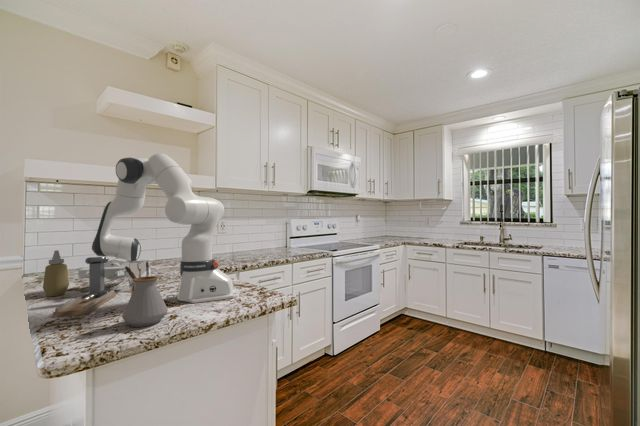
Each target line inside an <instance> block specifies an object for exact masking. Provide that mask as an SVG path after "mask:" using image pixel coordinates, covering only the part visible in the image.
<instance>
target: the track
mask: <svg viewBox="0 0 640 426" xmlns="http://www.w3.org/2000/svg"><path fill="white" fill-rule="evenodd" d="M88 293H89V292H86V293H84V294H82V295H79V296H78V297H76V298H74V299H72V300H70V301H68V302H66V303H64V304H62V305H60V306H58V307H56V308H54V311H53V312H52V318H60V317H62V318H63V317H72V316H73V317H74V316H84V315H88V314H90V313H91V312H93V311H95V310H96V309H98V308H100V307H101V306H102V305H104V304H106V303H107V302H109V301H110V300H112V299H114V298H115V297H117V292H116V291H115V289H112V290H110V291H107V294H105V295H103V296H101V297H94V298H92V299H90V300H88V301H86V302H84V301H83V299H84V298H85V297H86V294H88Z"/></svg>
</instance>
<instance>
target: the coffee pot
mask: <svg viewBox="0 0 640 426" xmlns="http://www.w3.org/2000/svg"><path fill="white" fill-rule="evenodd" d="M123 269H124V268H123ZM123 269H122V271H123ZM125 269H126V271H127V272H128V273H129V275H130V277H131V278H132V279H133V281H134V282H135V286H136V287H135V289H134V291H133V293H132V295H131V294H130V298H129V299H128V303H127V304H126V306H125V309H124V311H123V312H122V317H121V318H122V319H123V321H124V323H126V324H129V325H130V327H135V328H140V327H148V326H152V325H156V324H158V323H159V322H161V320H162V319H163V318H164V317H165V316H166V315H167V313H168V306H167V305H166V302H165V301H164V298H163V296H162V295H161V293H160V291H159V289H158V286H157V280H158V279H159V276H157V275H155V276H154V275H151V276H147V277H139V278H136V276H135V275H134V273H133V272H132V271H131V269H129V267H127V266H126V267H125ZM123 272H124V271H123Z"/></svg>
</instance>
